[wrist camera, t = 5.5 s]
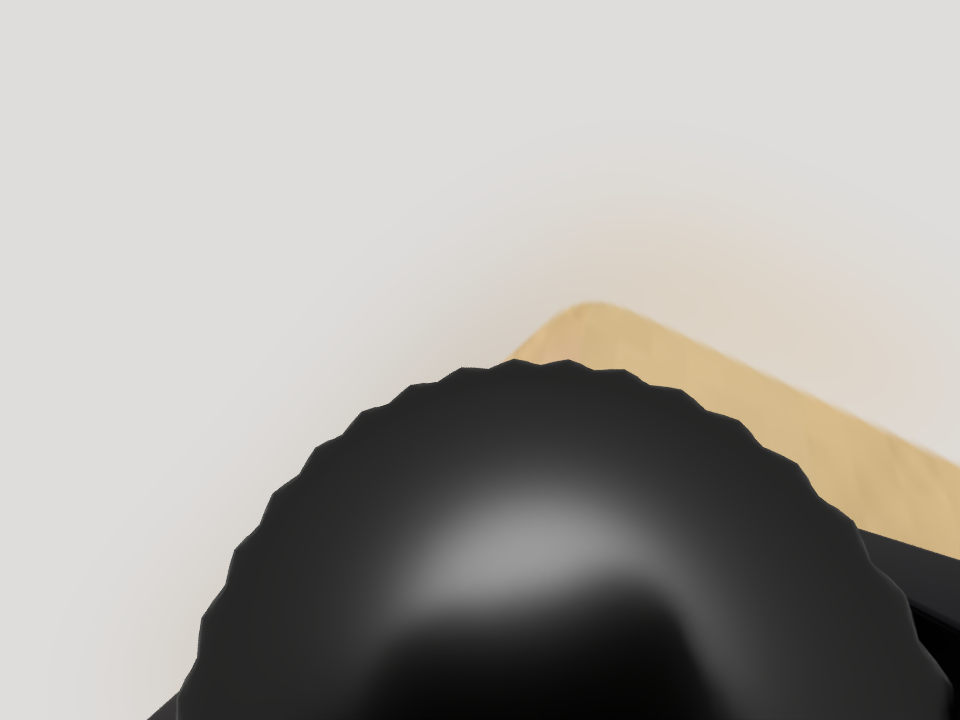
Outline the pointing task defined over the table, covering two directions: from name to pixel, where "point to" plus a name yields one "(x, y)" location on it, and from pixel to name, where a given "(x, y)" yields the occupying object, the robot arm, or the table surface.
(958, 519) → the table surface
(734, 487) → the supplement bottle
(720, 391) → the table surface
